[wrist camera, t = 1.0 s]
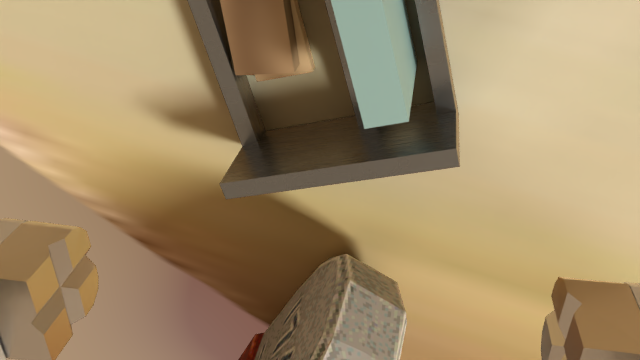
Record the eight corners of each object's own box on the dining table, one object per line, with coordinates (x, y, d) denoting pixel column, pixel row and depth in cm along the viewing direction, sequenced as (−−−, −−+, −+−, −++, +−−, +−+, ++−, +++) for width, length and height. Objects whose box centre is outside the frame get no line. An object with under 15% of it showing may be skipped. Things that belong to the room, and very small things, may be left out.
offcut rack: (396, -238, 31) (383, -249, 25) (458, 114, 40) (459, 166, 34) (146, -152, 35) (85, -143, 29) (255, 147, 45) (225, 199, 39)
